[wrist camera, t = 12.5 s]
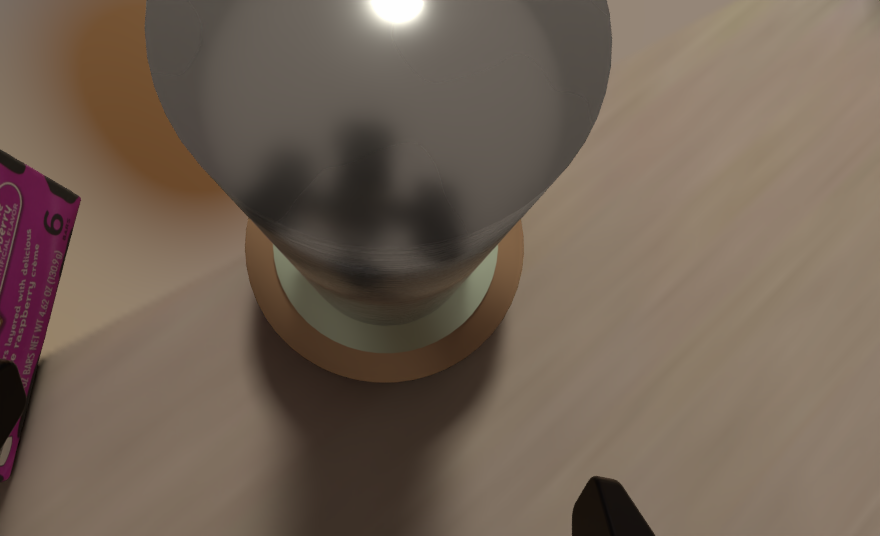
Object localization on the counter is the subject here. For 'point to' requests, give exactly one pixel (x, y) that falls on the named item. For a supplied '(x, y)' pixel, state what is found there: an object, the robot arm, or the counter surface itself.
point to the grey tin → (382, 127)
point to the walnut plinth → (376, 346)
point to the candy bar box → (29, 270)
